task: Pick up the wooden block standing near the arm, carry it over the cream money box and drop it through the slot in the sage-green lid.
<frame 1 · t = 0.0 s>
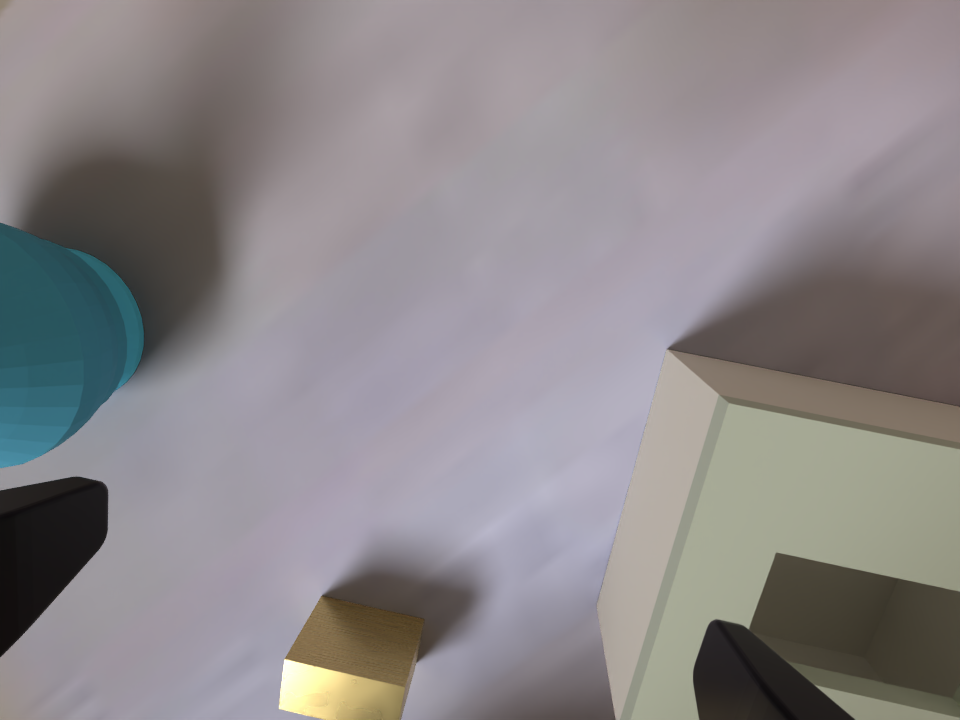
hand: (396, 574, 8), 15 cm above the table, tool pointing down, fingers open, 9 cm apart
coin box: (772, 515, 22), on the table
perfume bottle: (76, 324, 24), on the table
wooden block: (369, 628, 26), on the table
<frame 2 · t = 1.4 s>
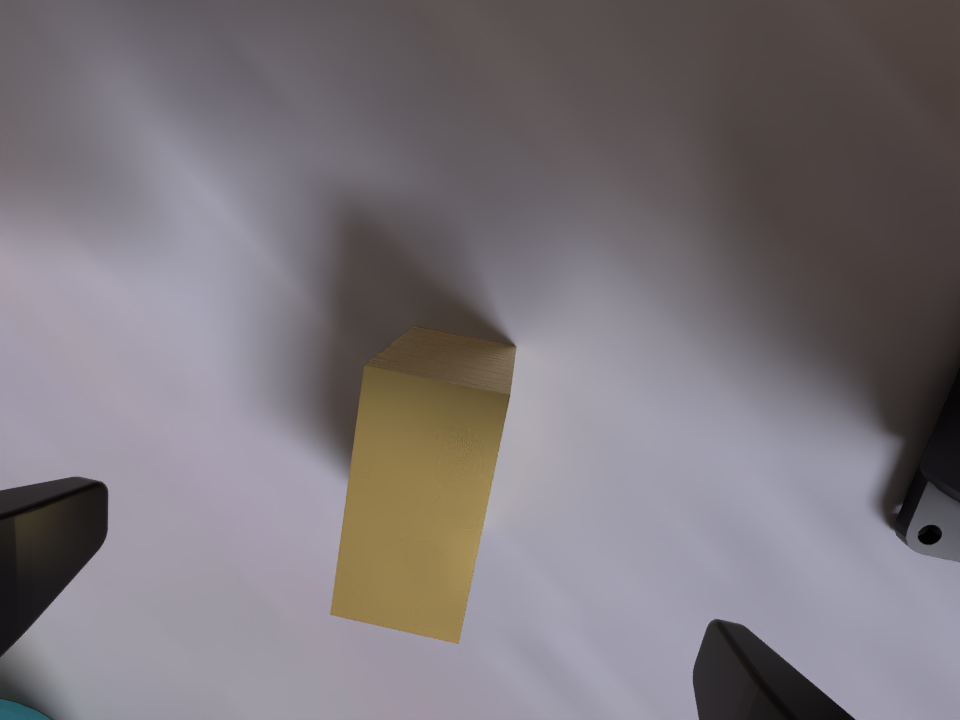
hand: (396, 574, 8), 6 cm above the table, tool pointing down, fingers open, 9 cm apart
wooden block: (447, 432, 13), on the table
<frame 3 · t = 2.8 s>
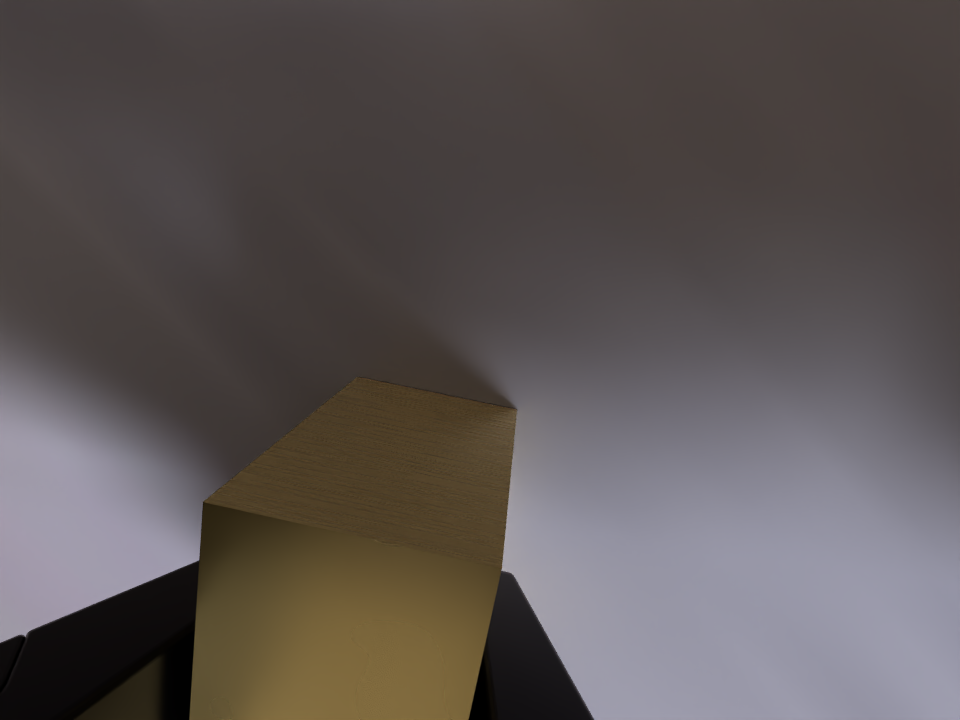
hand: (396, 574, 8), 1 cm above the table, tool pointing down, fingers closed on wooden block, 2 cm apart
wooden block: (412, 536, 9), on the table, touching gripper
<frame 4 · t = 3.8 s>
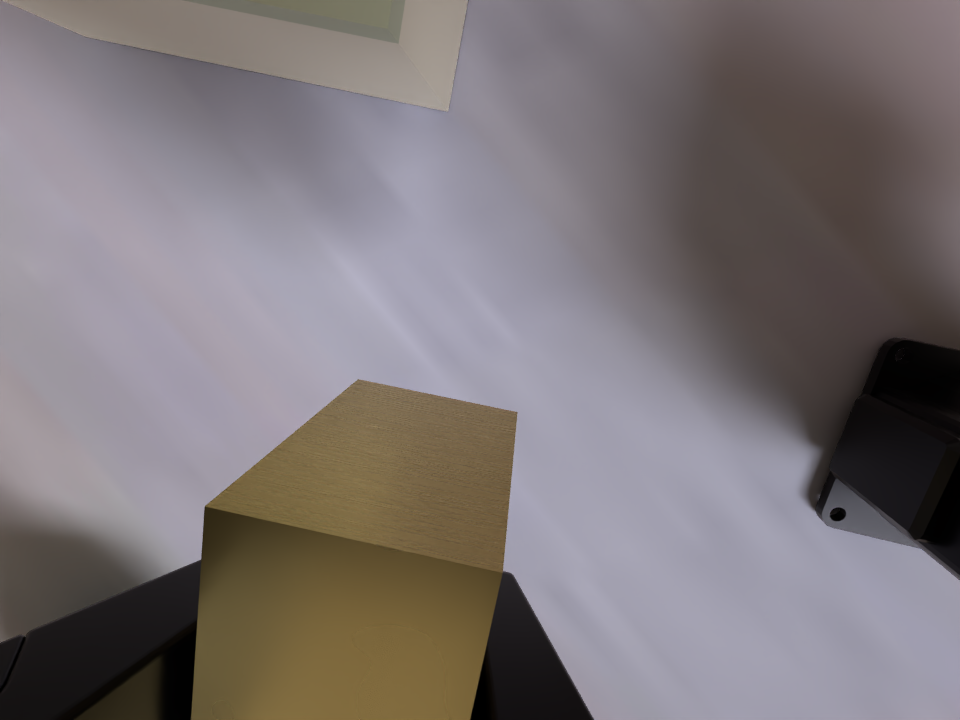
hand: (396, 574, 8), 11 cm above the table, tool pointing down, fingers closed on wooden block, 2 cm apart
wooden block: (412, 538, 9), point 10 cm above the table, touching gripper
when the fingers open (9 cm above the table, at t = 5.1 s): wooden block drops 8 cm, resting on coin box.
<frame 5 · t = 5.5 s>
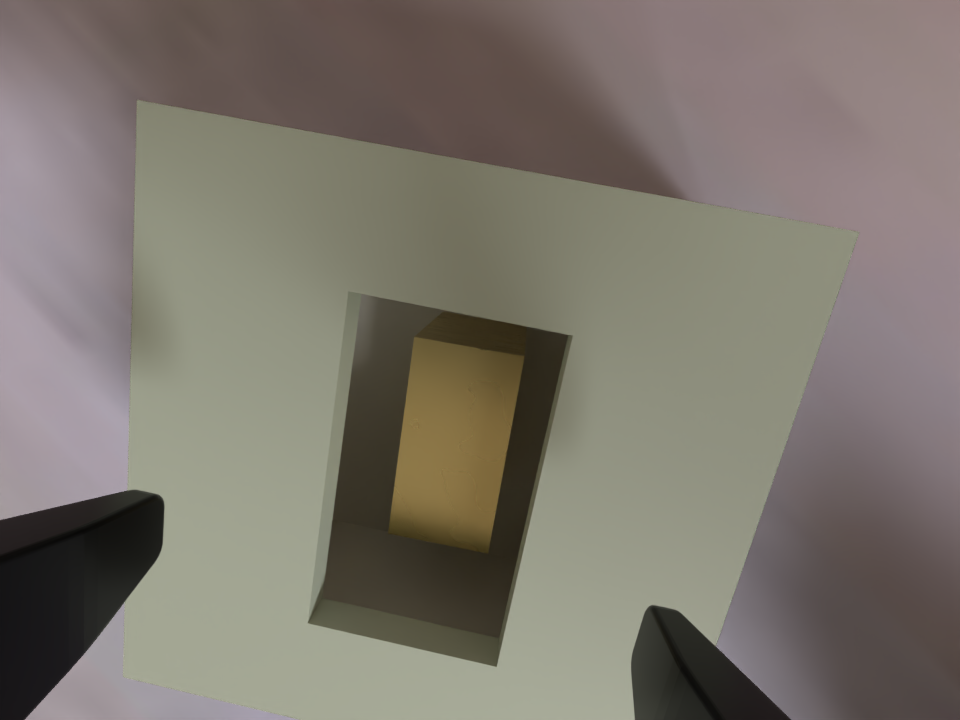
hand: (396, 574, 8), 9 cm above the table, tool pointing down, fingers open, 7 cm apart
coin box: (470, 389, 17), on the table
wooden block: (471, 398, 16), point 1 cm above the table, touching coin box
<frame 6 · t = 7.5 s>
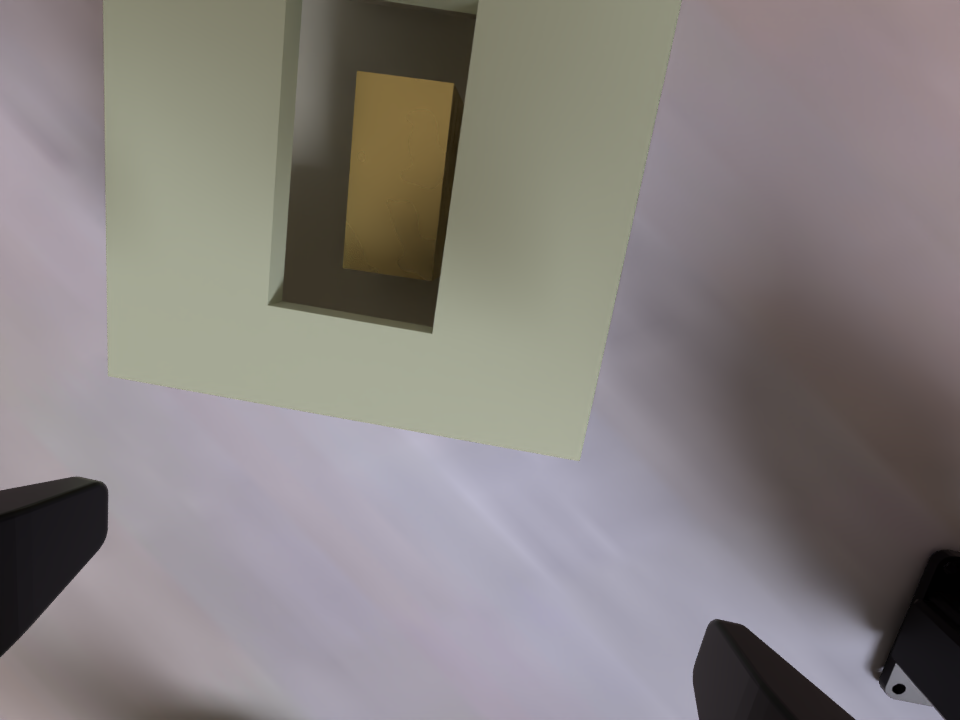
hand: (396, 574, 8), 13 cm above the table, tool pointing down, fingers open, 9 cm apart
coin box: (422, 188, 19), on the table
wooden block: (423, 190, 18), point 1 cm above the table, touching coin box
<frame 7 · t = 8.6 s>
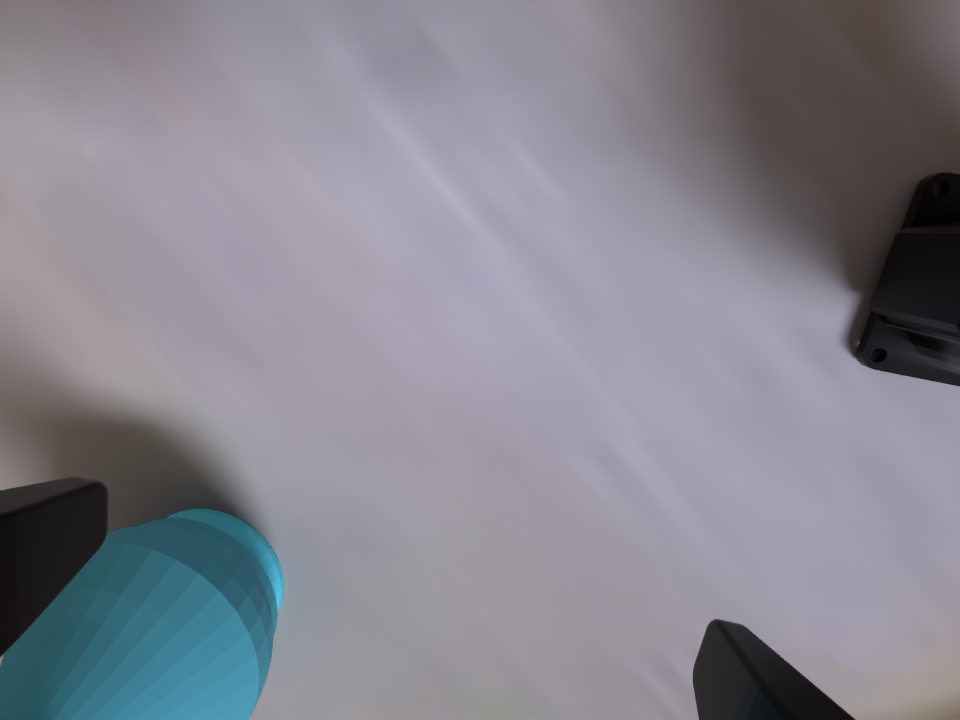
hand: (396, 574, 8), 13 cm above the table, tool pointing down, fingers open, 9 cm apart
perfume bottle: (214, 573, 24), on the table
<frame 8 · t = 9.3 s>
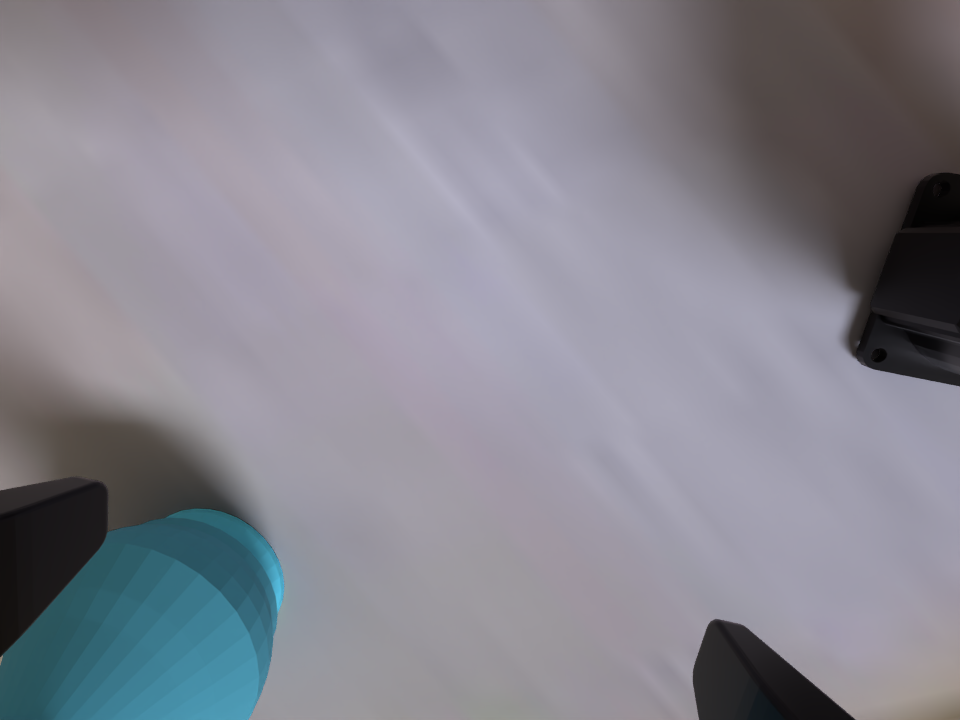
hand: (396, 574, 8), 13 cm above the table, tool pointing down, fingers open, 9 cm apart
perfume bottle: (214, 573, 24), on the table
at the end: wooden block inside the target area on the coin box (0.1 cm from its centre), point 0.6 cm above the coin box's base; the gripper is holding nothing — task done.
